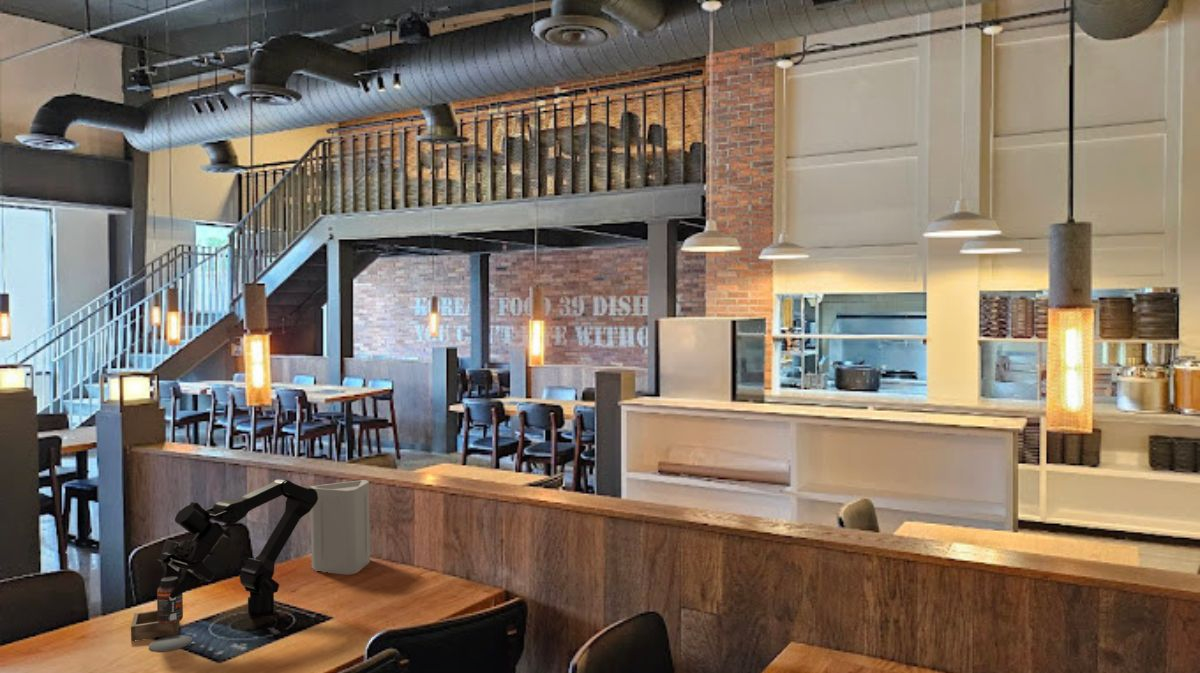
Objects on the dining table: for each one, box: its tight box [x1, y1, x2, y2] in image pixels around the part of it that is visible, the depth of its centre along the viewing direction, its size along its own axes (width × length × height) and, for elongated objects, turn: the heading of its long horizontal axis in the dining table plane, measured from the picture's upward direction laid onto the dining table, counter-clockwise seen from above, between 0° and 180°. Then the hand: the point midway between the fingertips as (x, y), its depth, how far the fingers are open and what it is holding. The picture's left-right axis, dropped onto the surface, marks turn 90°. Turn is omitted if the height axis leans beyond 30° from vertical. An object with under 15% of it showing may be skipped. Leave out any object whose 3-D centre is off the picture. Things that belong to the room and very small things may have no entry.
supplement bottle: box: [156, 576, 184, 624], centre depth 216 cm, size 6×6×11 cm
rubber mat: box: [148, 634, 193, 653], centre depth 216 cm, size 10×10×1 cm
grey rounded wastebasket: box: [309, 479, 371, 576], centre depth 280 cm, size 19×15×28 cm
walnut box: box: [130, 609, 180, 642], centre depth 225 cm, size 11×11×4 cm
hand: (164, 595), depth 215 cm, fingers closed on supplement bottle, 6 cm apart
